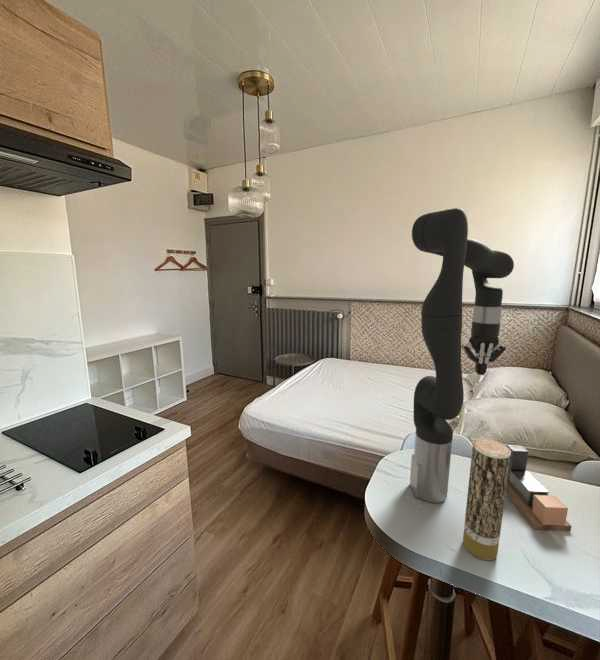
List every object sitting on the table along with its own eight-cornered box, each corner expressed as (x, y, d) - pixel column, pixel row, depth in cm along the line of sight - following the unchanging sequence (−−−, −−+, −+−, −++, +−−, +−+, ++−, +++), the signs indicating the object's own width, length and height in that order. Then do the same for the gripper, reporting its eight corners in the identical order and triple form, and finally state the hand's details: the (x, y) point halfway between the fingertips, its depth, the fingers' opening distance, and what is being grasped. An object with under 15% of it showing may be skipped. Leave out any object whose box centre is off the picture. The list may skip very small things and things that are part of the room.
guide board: (535, 529, 74) (536, 524, 74) (490, 475, 94) (491, 471, 94) (570, 531, 74) (571, 525, 74) (518, 476, 94) (518, 472, 93)
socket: (543, 524, 74) (545, 507, 73) (531, 511, 78) (534, 495, 77) (565, 525, 74) (568, 508, 73) (552, 512, 78) (555, 495, 77)
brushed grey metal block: (542, 520, 75) (548, 483, 73) (503, 475, 91) (507, 445, 89) (559, 520, 75) (566, 484, 73) (517, 476, 91) (521, 445, 89)
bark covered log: (487, 536, 73) (500, 439, 68) (503, 563, 66) (518, 457, 61) (457, 534, 73) (467, 437, 69) (470, 560, 67) (482, 455, 62)
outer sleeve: (527, 506, 80) (529, 491, 79) (508, 485, 88) (510, 471, 87) (546, 506, 80) (548, 491, 79) (525, 485, 87) (527, 471, 87)
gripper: (469, 322, 92) (464, 377, 95) (515, 322, 91) (508, 378, 94) (458, 318, 99) (454, 370, 103) (501, 318, 99) (495, 370, 102)
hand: (480, 374), depth 99 cm, fingers closed
